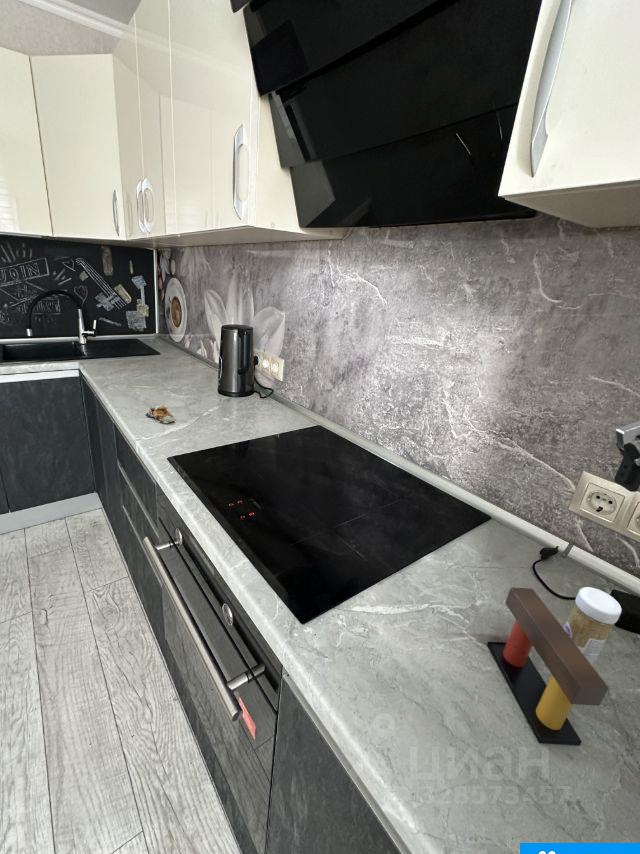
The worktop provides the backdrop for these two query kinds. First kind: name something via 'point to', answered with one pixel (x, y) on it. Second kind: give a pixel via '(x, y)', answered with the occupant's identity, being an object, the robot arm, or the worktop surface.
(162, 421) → the brown grey rock
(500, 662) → the rod stand
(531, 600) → the walnut bar
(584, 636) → the sprinkles bottle
